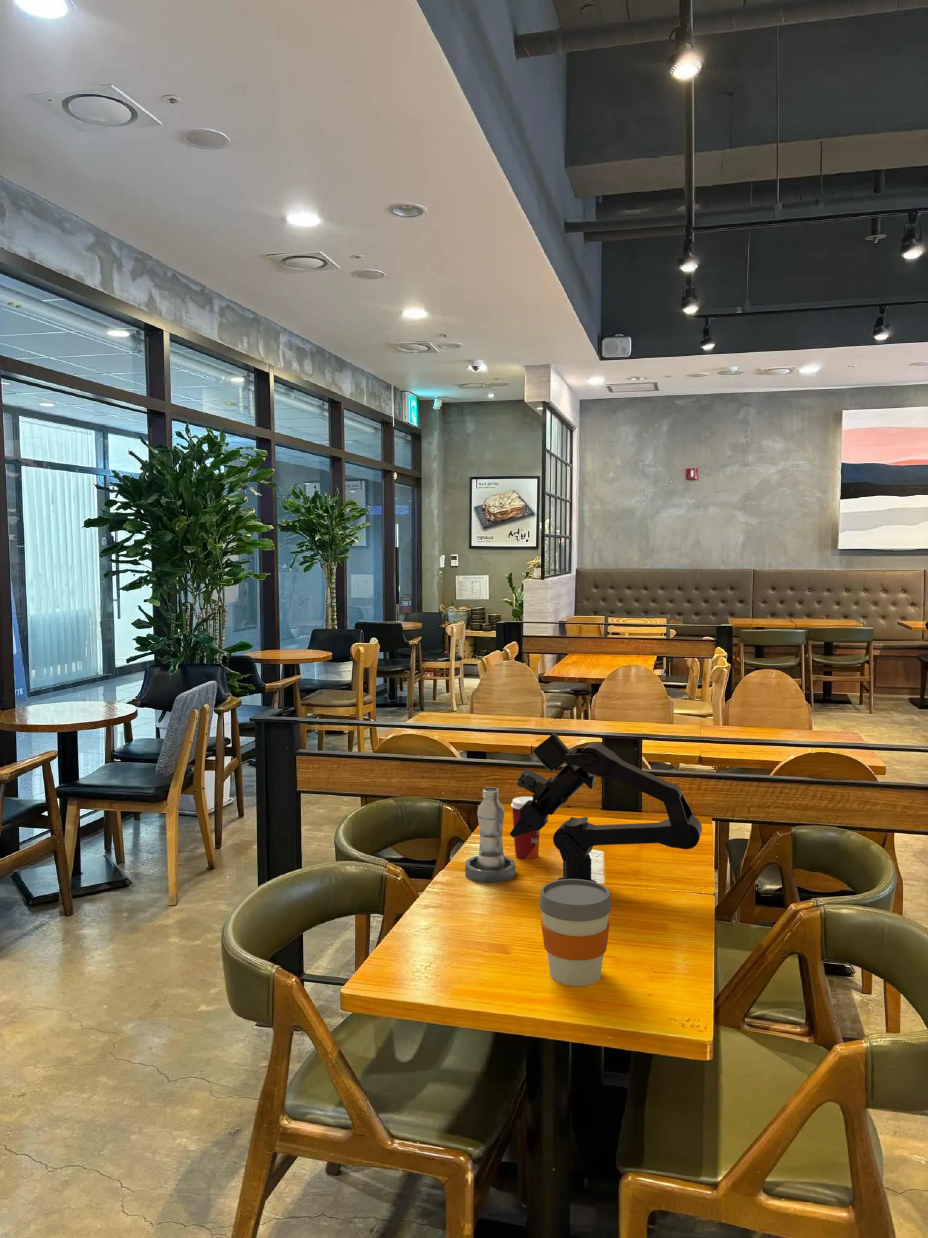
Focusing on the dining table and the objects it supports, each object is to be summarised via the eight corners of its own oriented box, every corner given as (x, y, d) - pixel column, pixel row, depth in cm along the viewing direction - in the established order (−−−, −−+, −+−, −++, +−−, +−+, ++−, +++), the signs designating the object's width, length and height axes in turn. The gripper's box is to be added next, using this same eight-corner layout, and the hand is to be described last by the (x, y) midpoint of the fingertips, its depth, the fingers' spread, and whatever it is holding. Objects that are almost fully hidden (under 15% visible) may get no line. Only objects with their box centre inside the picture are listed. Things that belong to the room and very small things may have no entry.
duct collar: (524, 876, 203) (524, 866, 203) (481, 886, 198) (481, 875, 197) (498, 861, 213) (498, 851, 213) (456, 870, 208) (456, 860, 207)
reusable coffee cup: (534, 959, 162) (534, 879, 161) (602, 956, 163) (602, 877, 161) (545, 993, 149) (545, 907, 148) (618, 990, 150) (618, 904, 149)
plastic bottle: (475, 878, 202) (474, 792, 201) (479, 867, 209) (479, 785, 208) (503, 879, 201) (502, 793, 200) (506, 869, 208) (506, 786, 207)
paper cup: (543, 861, 213) (543, 804, 212) (511, 861, 213) (511, 804, 212) (541, 850, 221) (541, 795, 220) (510, 850, 221) (510, 795, 220)
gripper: (547, 750, 209) (503, 793, 213) (528, 768, 191) (480, 814, 195) (580, 785, 207) (535, 827, 211) (564, 807, 189) (515, 852, 193)
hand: (516, 829), depth 203 cm, fingers open, 9 cm apart
